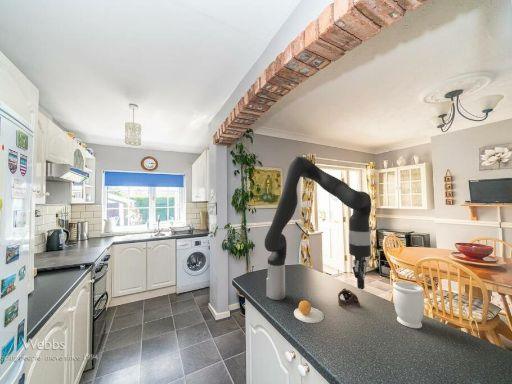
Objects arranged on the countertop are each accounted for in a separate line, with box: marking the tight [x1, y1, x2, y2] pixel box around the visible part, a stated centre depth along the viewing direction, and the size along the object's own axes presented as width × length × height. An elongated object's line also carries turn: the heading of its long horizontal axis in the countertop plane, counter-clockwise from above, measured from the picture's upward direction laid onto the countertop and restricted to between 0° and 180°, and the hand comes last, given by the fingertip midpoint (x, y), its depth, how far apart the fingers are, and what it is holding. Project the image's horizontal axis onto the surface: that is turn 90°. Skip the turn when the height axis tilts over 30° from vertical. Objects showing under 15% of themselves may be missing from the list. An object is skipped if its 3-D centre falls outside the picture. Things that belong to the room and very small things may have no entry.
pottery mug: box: [337, 287, 361, 308], centre depth 100 cm, size 12×10×8 cm
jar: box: [392, 281, 425, 329], centre depth 85 cm, size 11×10×15 cm
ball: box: [298, 300, 312, 314], centre depth 92 cm, size 6×6×6 cm
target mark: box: [293, 306, 325, 324], centre depth 91 cm, size 13×13×1 cm
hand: (361, 288), depth 78 cm, fingers closed
